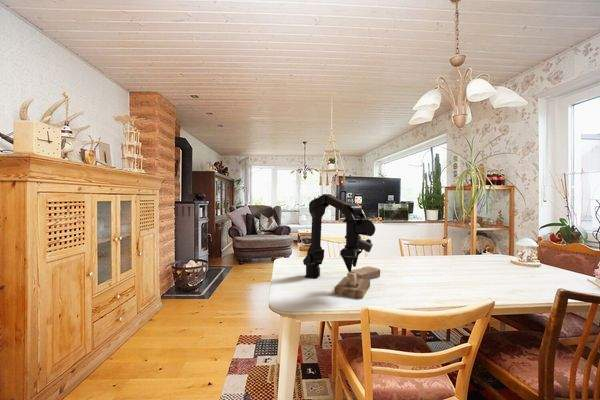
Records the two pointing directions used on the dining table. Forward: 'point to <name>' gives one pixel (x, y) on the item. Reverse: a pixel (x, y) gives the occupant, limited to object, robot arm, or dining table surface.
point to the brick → (366, 273)
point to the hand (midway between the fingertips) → (352, 269)
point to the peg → (351, 280)
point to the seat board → (352, 288)
